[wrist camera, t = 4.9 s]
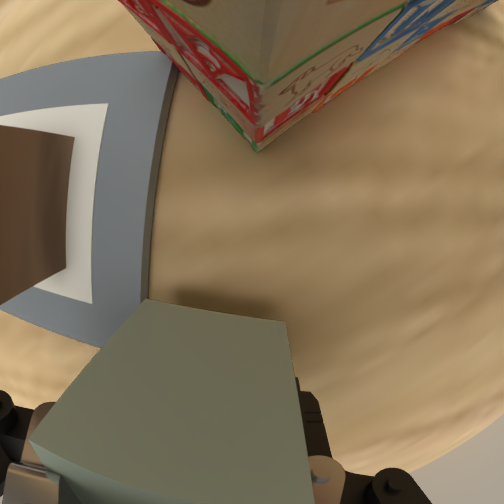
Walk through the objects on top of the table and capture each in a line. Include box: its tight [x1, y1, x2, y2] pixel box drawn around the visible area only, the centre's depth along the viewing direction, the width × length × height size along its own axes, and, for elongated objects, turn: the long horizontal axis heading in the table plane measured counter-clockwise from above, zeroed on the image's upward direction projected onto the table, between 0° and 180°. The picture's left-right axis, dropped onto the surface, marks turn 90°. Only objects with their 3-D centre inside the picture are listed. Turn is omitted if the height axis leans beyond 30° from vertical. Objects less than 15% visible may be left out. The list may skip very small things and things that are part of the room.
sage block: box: [28, 299, 315, 504], centre depth 7 cm, size 5×5×7 cm
